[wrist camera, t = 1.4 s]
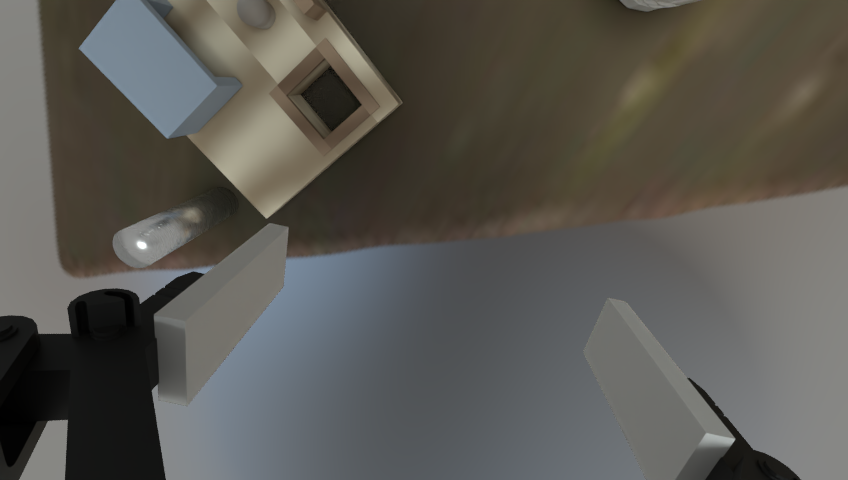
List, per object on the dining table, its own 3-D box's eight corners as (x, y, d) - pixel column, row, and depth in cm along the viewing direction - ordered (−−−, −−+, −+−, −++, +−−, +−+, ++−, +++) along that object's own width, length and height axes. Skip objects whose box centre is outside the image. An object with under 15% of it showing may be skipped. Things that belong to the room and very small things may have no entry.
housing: (120, 52, 32) (78, 48, 28) (164, -3, 30) (127, -15, 27) (196, 133, 34) (167, 138, 30) (242, 85, 32) (217, 85, 29)
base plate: (132, 53, 35) (71, 47, 29) (253, -92, 30) (208, -132, 25) (279, 209, 39) (251, 229, 34) (402, 102, 35) (394, 106, 29)
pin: (202, 199, 39) (104, 245, 28) (221, 181, 39) (128, 220, 27) (224, 222, 40) (138, 275, 29) (244, 204, 39) (162, 252, 28)
